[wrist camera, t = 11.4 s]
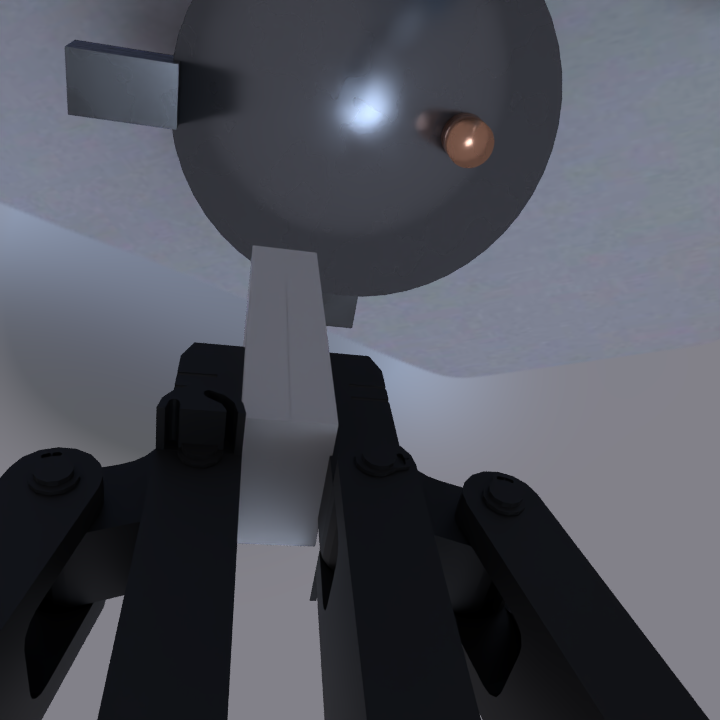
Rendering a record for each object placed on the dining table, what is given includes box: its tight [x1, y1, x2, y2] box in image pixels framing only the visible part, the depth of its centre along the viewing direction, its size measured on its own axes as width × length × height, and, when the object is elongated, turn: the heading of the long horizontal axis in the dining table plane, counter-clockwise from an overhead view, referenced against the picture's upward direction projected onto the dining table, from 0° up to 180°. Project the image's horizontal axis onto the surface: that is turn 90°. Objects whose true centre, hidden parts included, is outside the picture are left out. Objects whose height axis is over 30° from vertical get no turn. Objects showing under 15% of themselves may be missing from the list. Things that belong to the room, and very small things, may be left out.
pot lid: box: [65, 0, 562, 297], centre depth 35 cm, size 20×24×3 cm
